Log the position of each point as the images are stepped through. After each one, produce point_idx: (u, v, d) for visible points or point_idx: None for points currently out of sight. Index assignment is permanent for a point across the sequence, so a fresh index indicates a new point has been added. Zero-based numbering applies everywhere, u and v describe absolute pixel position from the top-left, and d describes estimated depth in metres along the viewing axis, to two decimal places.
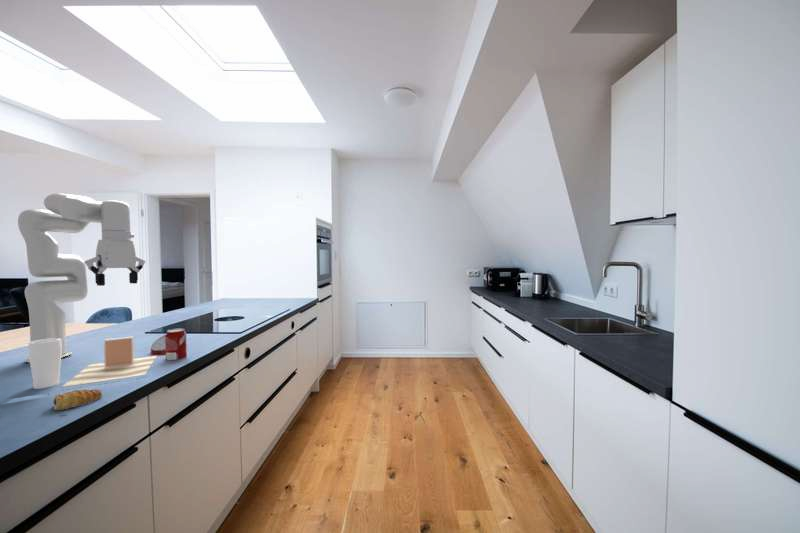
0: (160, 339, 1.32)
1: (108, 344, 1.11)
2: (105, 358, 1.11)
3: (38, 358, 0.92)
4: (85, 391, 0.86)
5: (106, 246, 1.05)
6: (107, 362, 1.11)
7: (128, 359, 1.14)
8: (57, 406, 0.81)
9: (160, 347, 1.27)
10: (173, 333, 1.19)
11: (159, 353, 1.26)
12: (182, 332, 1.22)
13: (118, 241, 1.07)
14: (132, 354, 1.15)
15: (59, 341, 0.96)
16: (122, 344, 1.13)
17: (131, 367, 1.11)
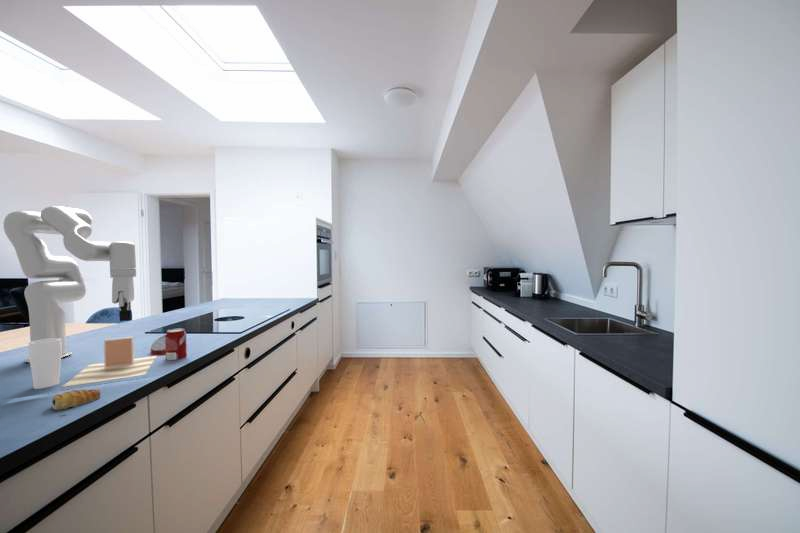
0: (160, 339, 1.32)
1: (108, 344, 1.11)
2: (105, 358, 1.11)
3: (38, 358, 0.92)
4: (84, 391, 0.87)
5: (127, 282, 1.17)
6: (107, 362, 1.11)
7: (128, 359, 1.14)
8: (56, 406, 0.81)
9: (160, 347, 1.27)
10: (173, 333, 1.19)
11: (159, 353, 1.26)
12: (182, 332, 1.22)
13: (131, 278, 1.20)
14: (132, 354, 1.15)
15: (59, 341, 0.96)
16: (122, 344, 1.13)
17: (131, 367, 1.11)
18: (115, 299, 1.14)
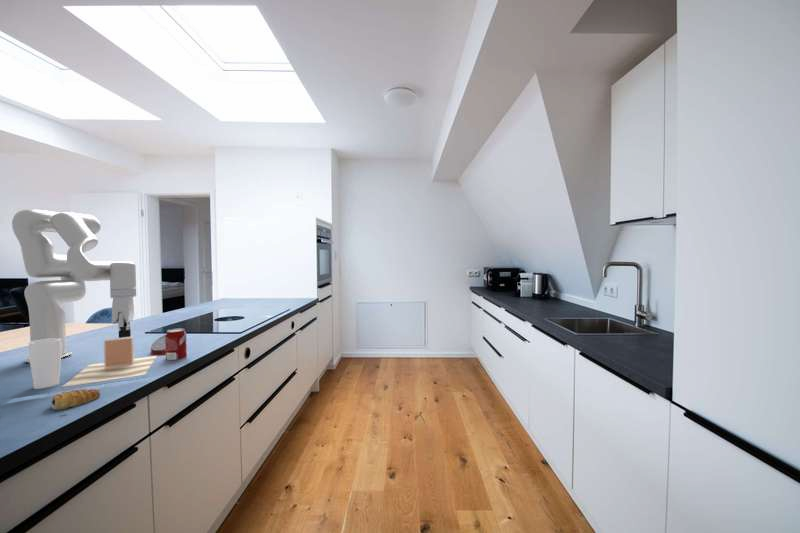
0: (160, 339, 1.32)
1: (108, 344, 1.11)
2: (105, 358, 1.11)
3: (38, 358, 0.92)
4: (83, 391, 0.87)
5: (127, 303, 1.17)
6: (107, 362, 1.11)
7: (128, 359, 1.14)
8: (56, 406, 0.81)
9: (160, 347, 1.27)
10: (173, 333, 1.19)
11: (159, 353, 1.26)
12: (182, 332, 1.22)
13: (131, 297, 1.20)
14: (132, 354, 1.15)
15: (59, 341, 0.96)
16: (122, 344, 1.13)
17: (131, 367, 1.11)
18: (115, 320, 1.15)
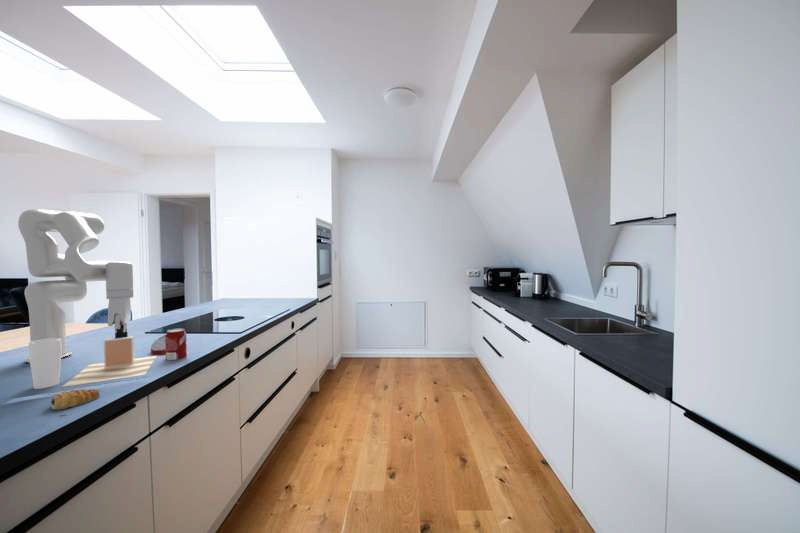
0: (160, 339, 1.32)
1: (108, 344, 1.11)
2: (105, 358, 1.11)
3: (38, 358, 0.92)
4: (83, 391, 0.87)
5: (124, 304, 1.13)
6: (107, 362, 1.11)
7: (128, 359, 1.14)
8: (55, 406, 0.81)
9: (160, 347, 1.27)
10: (173, 333, 1.19)
11: (159, 353, 1.26)
12: (182, 332, 1.22)
13: (128, 299, 1.16)
14: (132, 354, 1.15)
15: (59, 341, 0.96)
16: (122, 344, 1.13)
17: (131, 367, 1.11)
18: (111, 322, 1.10)
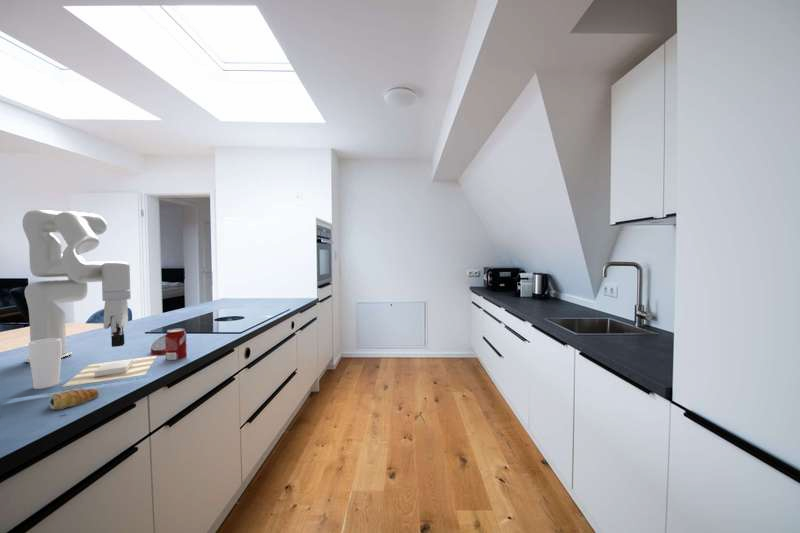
0: (160, 339, 1.32)
1: None
2: None
3: (38, 358, 0.92)
4: (82, 390, 0.87)
5: (121, 306, 1.09)
6: None
7: None
8: (55, 405, 0.81)
9: (160, 347, 1.27)
10: (173, 333, 1.19)
11: (159, 353, 1.26)
12: (182, 332, 1.22)
13: (125, 300, 1.12)
14: None
15: (59, 341, 0.96)
16: None
17: (131, 367, 1.11)
18: (107, 324, 1.07)
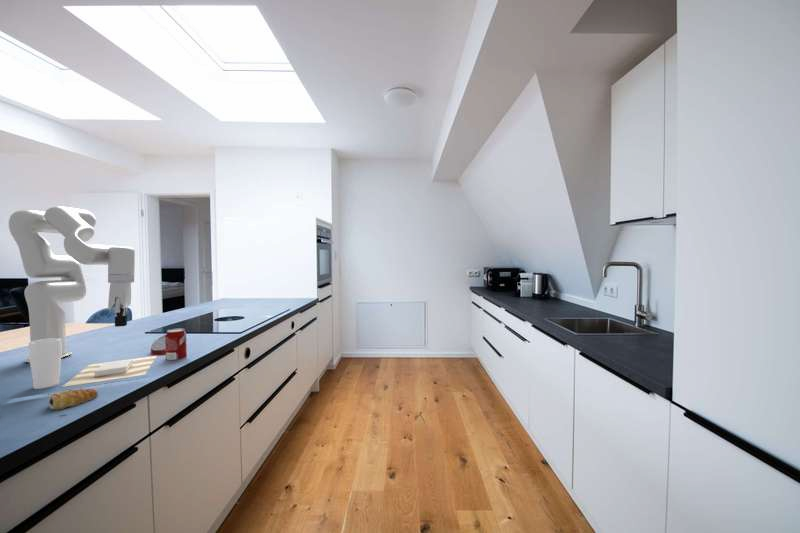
0: (160, 339, 1.32)
1: None
2: None
3: (38, 358, 0.92)
4: (81, 390, 0.87)
5: (125, 288, 1.16)
6: None
7: None
8: (54, 405, 0.81)
9: (160, 347, 1.27)
10: (173, 333, 1.19)
11: (159, 353, 1.26)
12: (182, 332, 1.22)
13: (129, 283, 1.18)
14: None
15: (59, 341, 0.96)
16: None
17: (131, 367, 1.11)
18: (111, 305, 1.13)
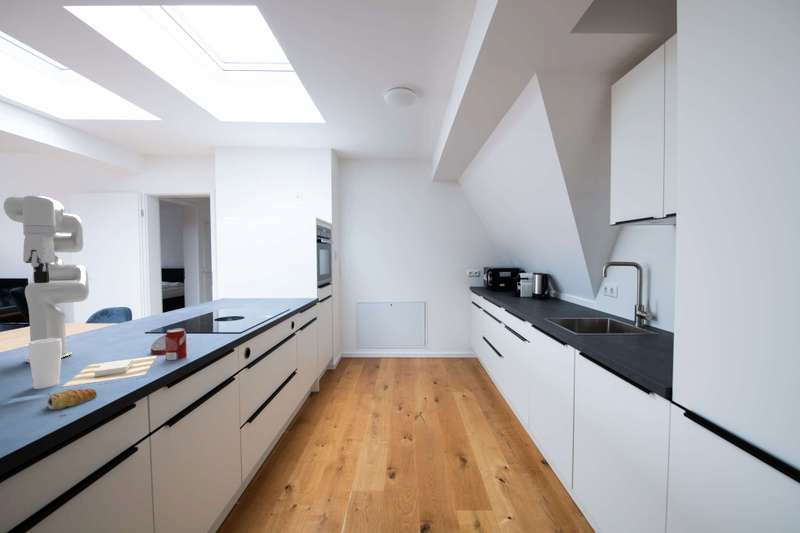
0: (160, 339, 1.32)
1: None
2: None
3: (38, 358, 0.92)
4: (80, 390, 0.87)
5: (43, 241, 1.07)
6: None
7: None
8: (53, 405, 0.81)
9: (160, 347, 1.27)
10: (173, 333, 1.19)
11: (159, 353, 1.26)
12: (182, 332, 1.22)
13: (49, 237, 1.10)
14: None
15: (59, 341, 0.96)
16: None
17: (131, 367, 1.11)
18: (27, 258, 1.04)
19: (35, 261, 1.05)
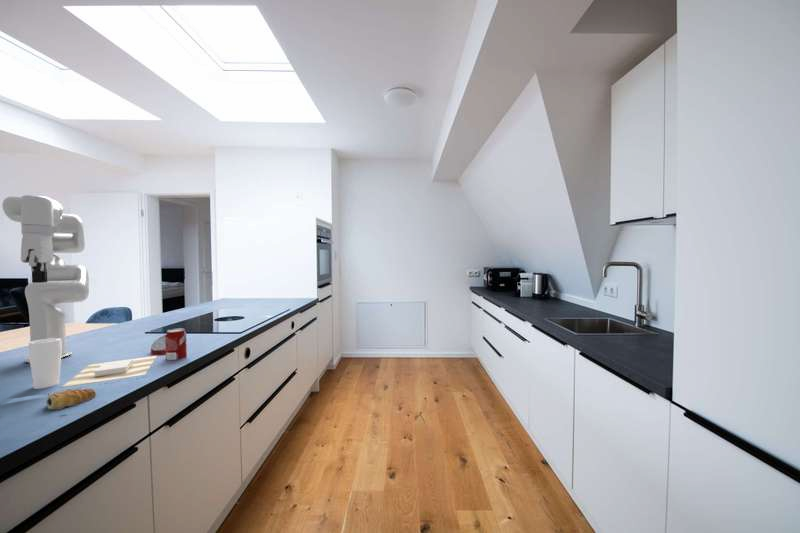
0: (160, 339, 1.32)
1: None
2: None
3: (38, 358, 0.92)
4: (79, 390, 0.87)
5: (40, 240, 1.07)
6: None
7: None
8: (53, 405, 0.81)
9: (160, 347, 1.27)
10: (173, 333, 1.19)
11: (159, 353, 1.26)
12: (182, 332, 1.22)
13: (47, 236, 1.10)
14: None
15: (59, 341, 0.96)
16: None
17: (131, 367, 1.11)
18: (24, 257, 1.04)
19: (32, 260, 1.05)
